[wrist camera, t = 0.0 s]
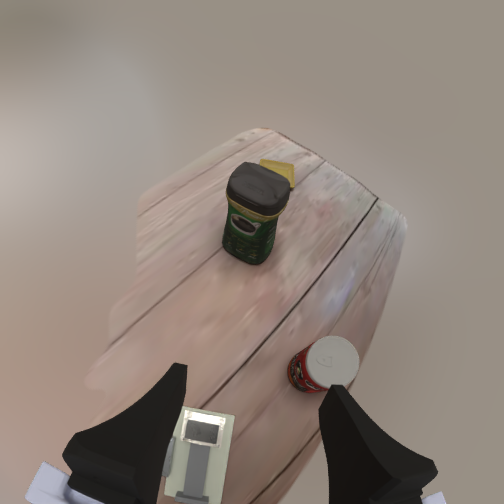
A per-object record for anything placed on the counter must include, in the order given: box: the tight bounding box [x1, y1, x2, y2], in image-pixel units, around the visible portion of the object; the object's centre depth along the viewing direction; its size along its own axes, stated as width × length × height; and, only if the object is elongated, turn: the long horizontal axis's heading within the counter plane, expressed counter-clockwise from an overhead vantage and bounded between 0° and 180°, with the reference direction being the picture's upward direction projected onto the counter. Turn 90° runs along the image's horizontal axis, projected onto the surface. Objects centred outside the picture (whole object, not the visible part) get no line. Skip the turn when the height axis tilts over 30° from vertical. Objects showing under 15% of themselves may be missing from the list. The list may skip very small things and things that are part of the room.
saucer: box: [260, 159, 295, 188], centre depth 66 cm, size 9×9×2 cm
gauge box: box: [162, 435, 176, 477], centre depth 32 cm, size 7×6×3 cm
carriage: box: [180, 410, 225, 448], centre depth 33 cm, size 5×6×6 cm
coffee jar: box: [222, 162, 290, 264], centre depth 47 cm, size 10×8×19 cm
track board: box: [164, 406, 235, 504], centre depth 32 cm, size 17×9×4 cm, turn 172°
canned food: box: [288, 336, 359, 393], centre depth 39 cm, size 8×8×11 cm
